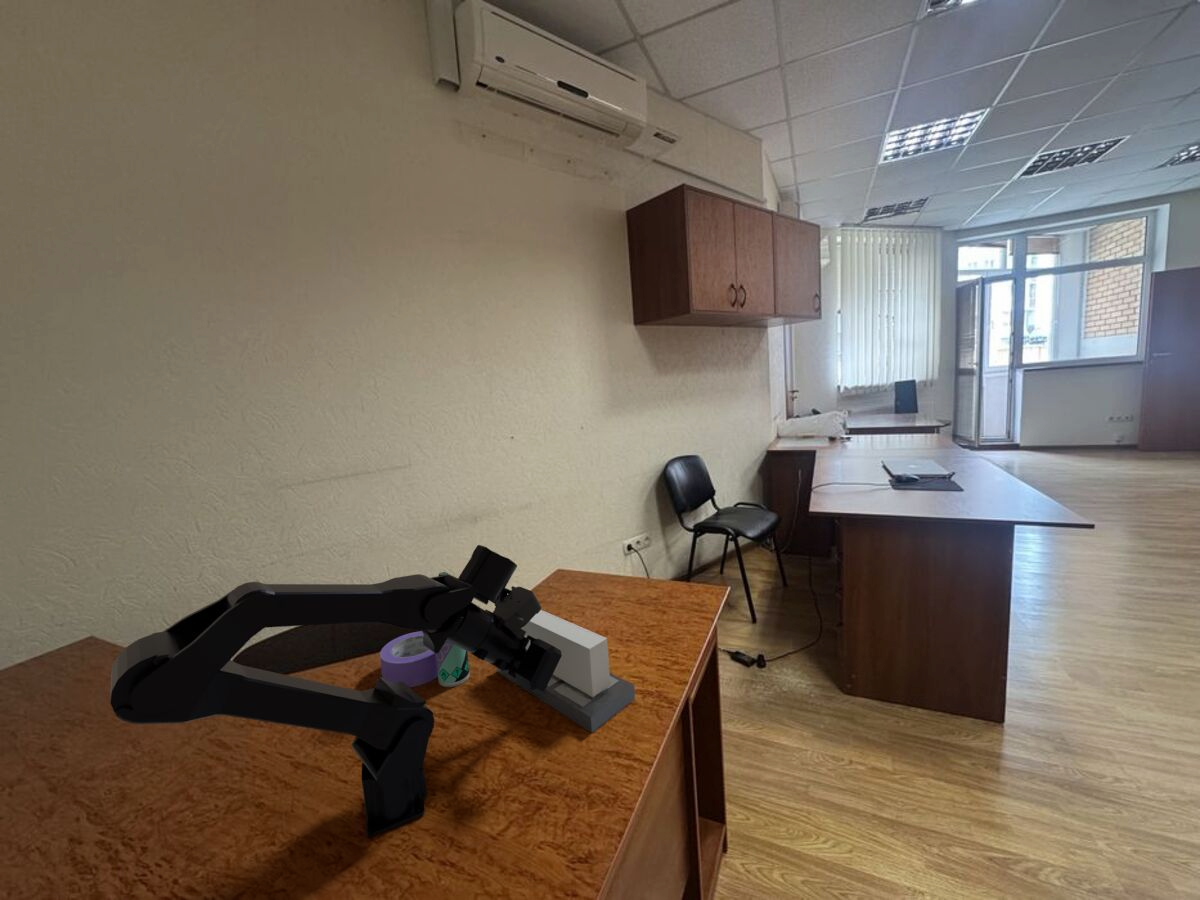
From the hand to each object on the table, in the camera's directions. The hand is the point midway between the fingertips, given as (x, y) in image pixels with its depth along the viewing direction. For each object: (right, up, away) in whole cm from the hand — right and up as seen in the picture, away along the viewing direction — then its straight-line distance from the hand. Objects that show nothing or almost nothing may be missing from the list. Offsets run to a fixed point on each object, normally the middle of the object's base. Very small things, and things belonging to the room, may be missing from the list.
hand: (542, 667), depth 75 cm
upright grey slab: (+2, -3, +7) cm, 8 cm away
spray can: (-18, -7, +11) cm, 22 cm away
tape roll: (-26, -7, +14) cm, 31 cm away
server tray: (+3, -6, +7) cm, 9 cm away
